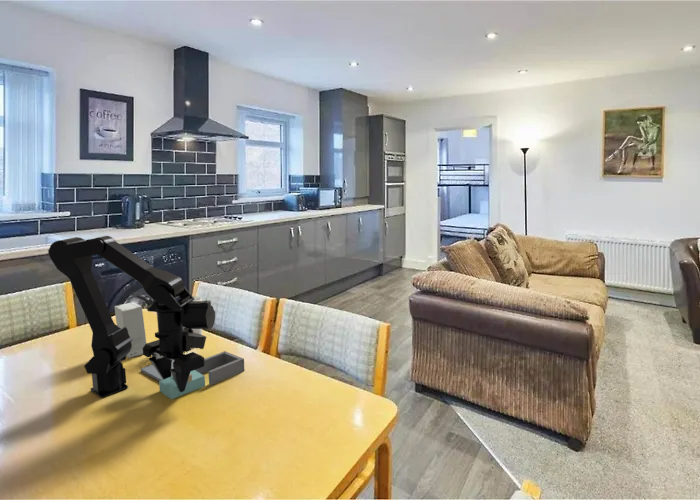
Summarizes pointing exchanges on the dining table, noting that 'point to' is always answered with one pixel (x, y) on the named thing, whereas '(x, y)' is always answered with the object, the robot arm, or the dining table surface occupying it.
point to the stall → (222, 366)
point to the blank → (193, 383)
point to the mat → (153, 371)
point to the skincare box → (132, 326)
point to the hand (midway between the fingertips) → (175, 387)
